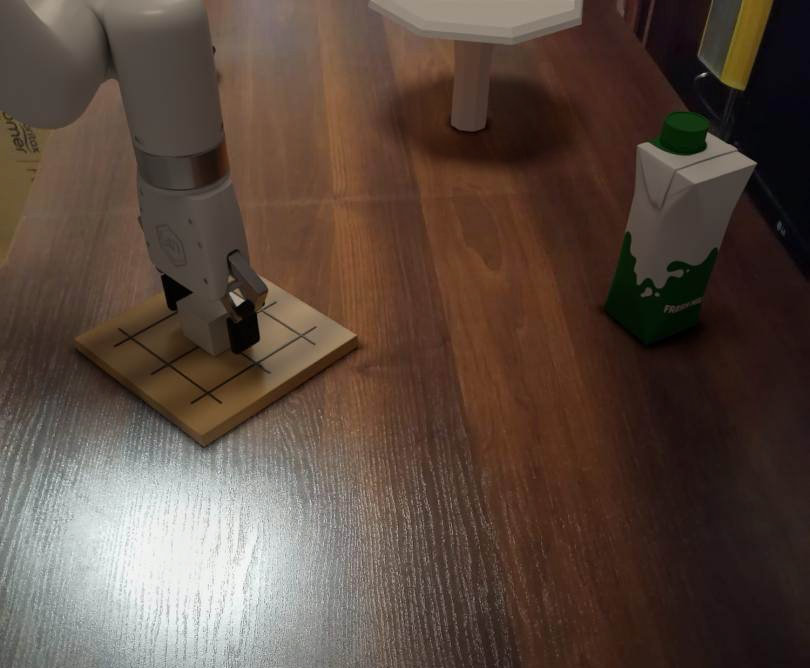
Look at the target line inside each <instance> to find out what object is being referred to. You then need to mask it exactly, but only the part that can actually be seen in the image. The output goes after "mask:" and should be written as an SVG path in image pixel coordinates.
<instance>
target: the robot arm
mask: <svg viewBox="0 0 810 668" xmlns="http://www.w3.org/2000/svg"><path fill="white" fill-rule="evenodd" d="M212 46H213V41H212V34H211V27H210V21H209V16H208V10H207V7H206V4H205V2H204V1H203V0H0V111H2V112H3V113H4V114H6V115H7V116H9V118H12V119H13V120H15V121H17V122H18V123H20V124H24V125H26V126H28V127H31V128H34V129H37V130H38V129H39V130H44V131H45V130H46V131H47V130H59V129H62V128H66V127H68V126H69V125H71V124H73V123H75V122H76V121H77V120H79V119H80V118H81V117H82V116H83V114H84V113H85V112H86V110H87V109H88V107H89V106H90V104H91V103H92V101H93V99H94V97H95V96H96V94H97V92H98V90H99V89H100V87H101V85H102V84H104V83H106V82H107V81H110V80H115V81H116V82H117V83H118V87H119V91H120V96H121V100H122V105H123V109H124V113H125V118H126V121H127V122H126V123H127V126H128V130H129V136H130V139H131V143H132V148H133V153H134V156H135V161H136V190H137V191H136V193H137V202H138V208H139V213H140V215H139V216H138V217H137V222H138V224H139V226H140V229H141V231H142V232H143V236H144V241H145V245H146V250H147V254H148V258H149V260H150V262H151V263H152V265H154V267H155V269H156V271H157V272H158V273H159V274H161V275H160V280H161V285H162V289H163V291H164V293H165V298H166V302H167V306H168V308H169V309H170V310H171V311H176V310H178V308H177V304H176V302H177V301H179V300H181V299H183V298H185V297H187V296H188V295H190V294H192V293H195V294H197V295H199V296H200V297H202V298H204V299H206V300H209V301H217V300H218V299H220V300H221V302H222V304H223V306H224V307H225V309H226V311H227V312H228V314H229V316H230V317H228V318H227V319H226V323H227V329H228V335H229V340H230V346H231V351H232V352H233V353H234V354H236V355H238V354H240V353H242V352H243V351H245V350H246V349H248V348H250V347H251V346H253V345H255V344H256V343H258V342H259V341H260V333H259V326H258V318H257V311H259V310H260V309H261V308H262V307H263V306H264V305H265V299H266V297H267V294H268V287H267V286H266V284H265V283H264V282H263V281H262V280H261V278H260V277H259V276H258V275H257V274H258V273H257V272H256V271H255V270H254V269H253V267H252V266H251V258H250V251H249V244H248V239H247V234H246V230H245V225H244V221H243V220H244V219H243V216H242V211H241V208H240V204H239V199H238V197H237V193H236V190H235V187H234V184H233V180H232V179H231V178H230V175H231V168H230V167H231V166H230V159H229V153H228V145H227V137H226V132H225V127H224V118H223V110H222V104H221V96H220V90H219V83H218V75H217V69H216V62H215V54H213V47H212ZM256 273H257V274H256ZM229 276H231V277H233V278H234V279H235V282H234V283H232V284H230V285H228V286H227V284H228V279H229ZM237 288H238V289H239V291H240V293H241V294H242V296H243V298H244V300H245V301H244V302H242V303H241V304H240V305H238V306H236V304H235V303H234V301H233V299H232V297H231V296H230V294H229V293H230V292H232V291H234V290H235V289H237Z"/></svg>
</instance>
